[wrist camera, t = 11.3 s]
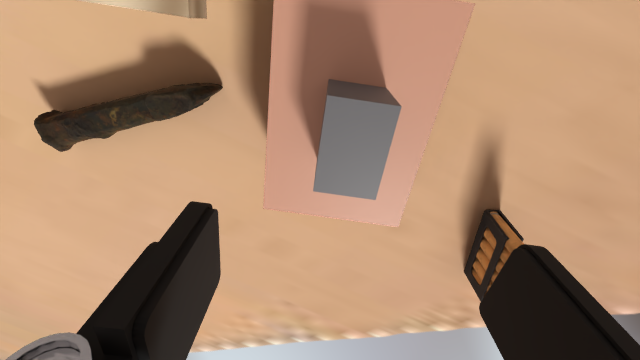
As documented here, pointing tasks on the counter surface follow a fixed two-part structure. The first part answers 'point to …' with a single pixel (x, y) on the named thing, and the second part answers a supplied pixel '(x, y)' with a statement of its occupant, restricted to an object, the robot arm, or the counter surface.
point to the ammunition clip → (490, 250)
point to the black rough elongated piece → (120, 114)
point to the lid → (355, 102)
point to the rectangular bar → (162, 6)
